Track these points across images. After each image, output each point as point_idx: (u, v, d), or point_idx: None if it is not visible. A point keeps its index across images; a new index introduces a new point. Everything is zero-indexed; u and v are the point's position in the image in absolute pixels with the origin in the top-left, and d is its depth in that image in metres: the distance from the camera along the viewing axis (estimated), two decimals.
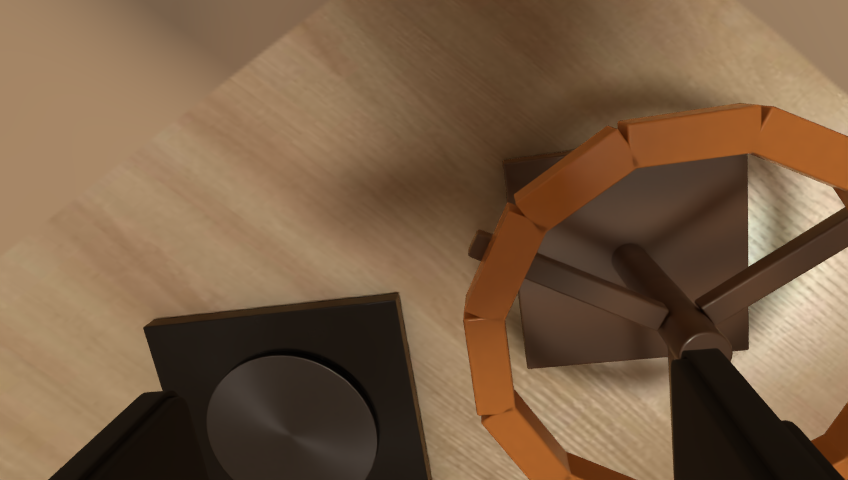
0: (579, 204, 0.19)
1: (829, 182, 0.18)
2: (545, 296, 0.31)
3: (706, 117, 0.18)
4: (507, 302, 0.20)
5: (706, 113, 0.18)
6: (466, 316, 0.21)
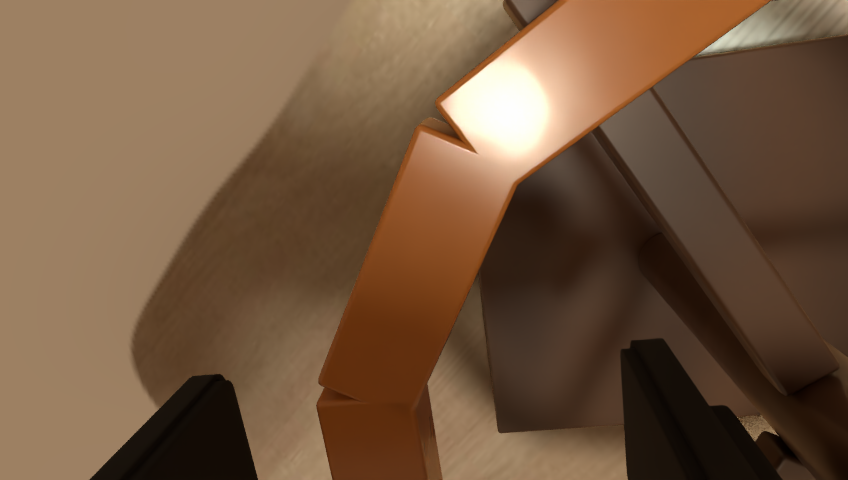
0: None
1: (484, 253, 0.07)
2: (721, 382, 0.19)
3: None
4: None
5: None
6: None
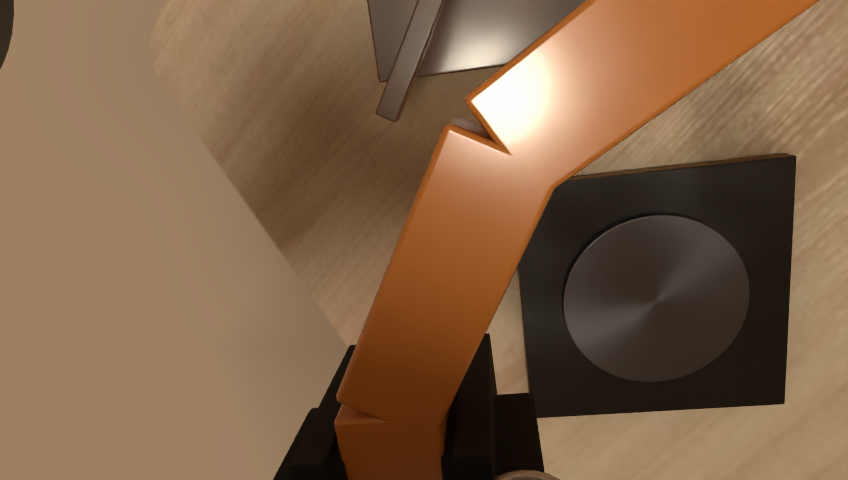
0: None
1: (517, 262, 0.07)
2: (509, 37, 0.31)
3: None
4: None
5: None
6: None
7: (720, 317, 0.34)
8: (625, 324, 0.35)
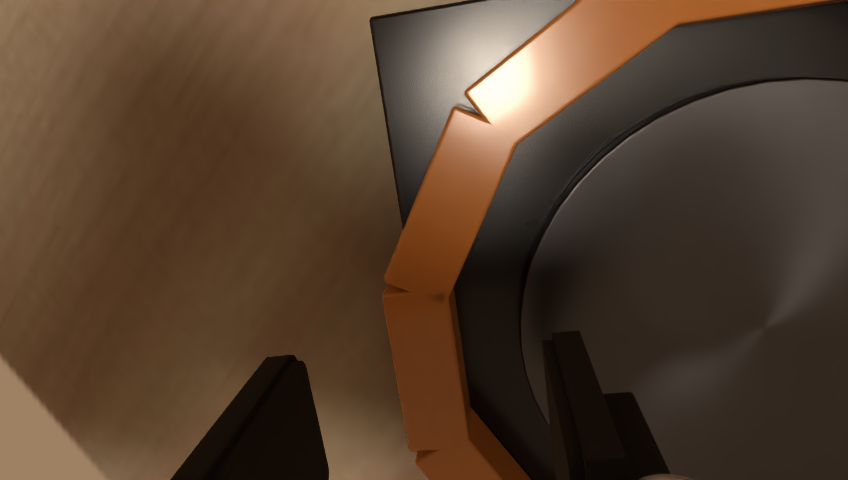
0: None
1: (495, 190, 0.12)
2: None
3: (399, 361, 0.13)
4: None
5: (394, 360, 0.13)
6: None
7: None
8: (683, 386, 0.13)
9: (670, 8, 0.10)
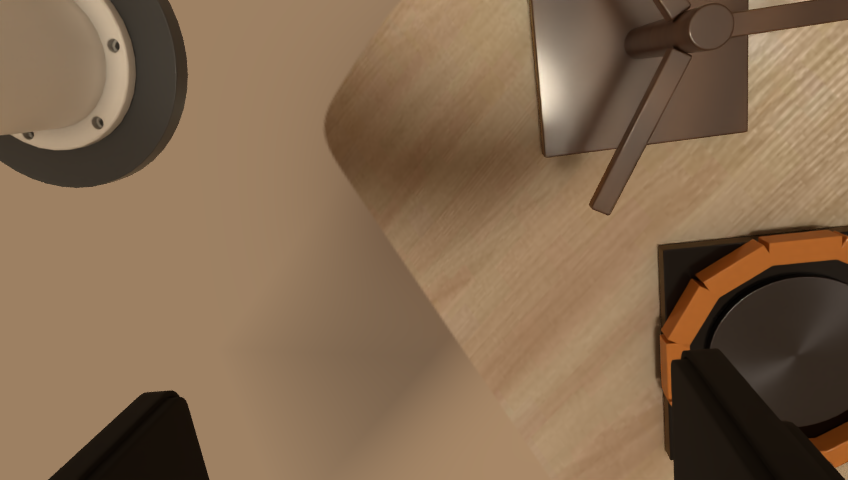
0: None
1: (710, 311, 0.36)
2: (670, 118, 0.34)
3: (669, 366, 0.37)
4: None
5: (667, 366, 0.37)
6: None
7: None
8: (767, 375, 0.37)
9: (771, 261, 0.34)
